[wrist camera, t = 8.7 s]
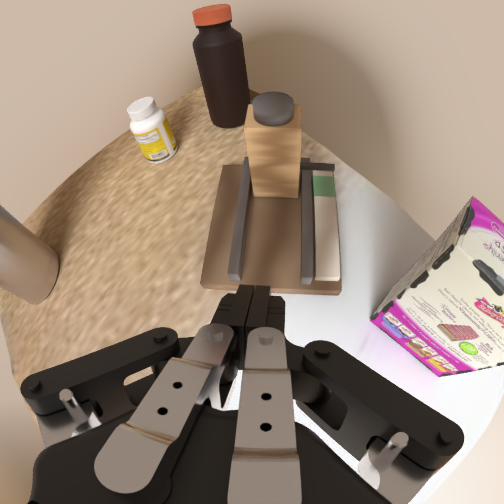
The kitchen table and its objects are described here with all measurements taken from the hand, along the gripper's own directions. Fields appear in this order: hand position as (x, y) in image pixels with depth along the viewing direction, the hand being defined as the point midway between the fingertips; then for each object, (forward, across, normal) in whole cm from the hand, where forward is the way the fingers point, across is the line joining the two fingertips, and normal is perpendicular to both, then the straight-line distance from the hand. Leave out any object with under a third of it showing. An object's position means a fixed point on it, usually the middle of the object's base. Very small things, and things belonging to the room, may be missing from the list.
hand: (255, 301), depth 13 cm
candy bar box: (+10, -16, +9) cm, 21 cm away
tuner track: (+19, 0, +1) cm, 19 cm away
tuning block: (+21, -2, -4) cm, 21 cm away
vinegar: (+34, +8, -14) cm, 38 cm away
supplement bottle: (+28, +18, -8) cm, 34 cm away
